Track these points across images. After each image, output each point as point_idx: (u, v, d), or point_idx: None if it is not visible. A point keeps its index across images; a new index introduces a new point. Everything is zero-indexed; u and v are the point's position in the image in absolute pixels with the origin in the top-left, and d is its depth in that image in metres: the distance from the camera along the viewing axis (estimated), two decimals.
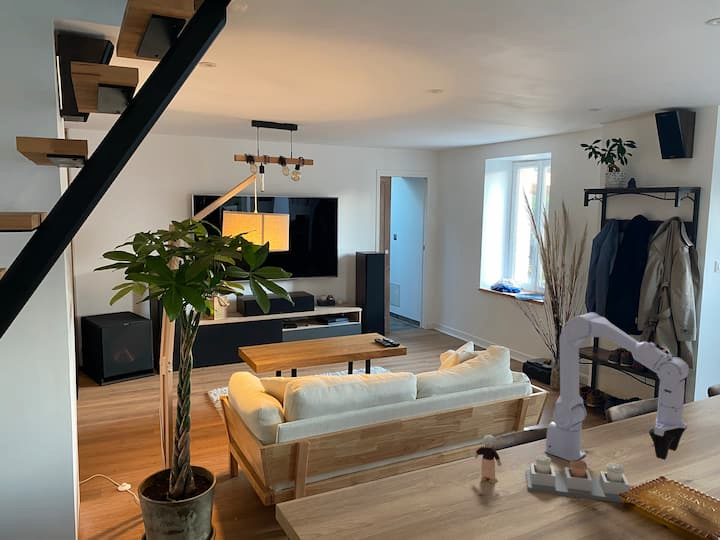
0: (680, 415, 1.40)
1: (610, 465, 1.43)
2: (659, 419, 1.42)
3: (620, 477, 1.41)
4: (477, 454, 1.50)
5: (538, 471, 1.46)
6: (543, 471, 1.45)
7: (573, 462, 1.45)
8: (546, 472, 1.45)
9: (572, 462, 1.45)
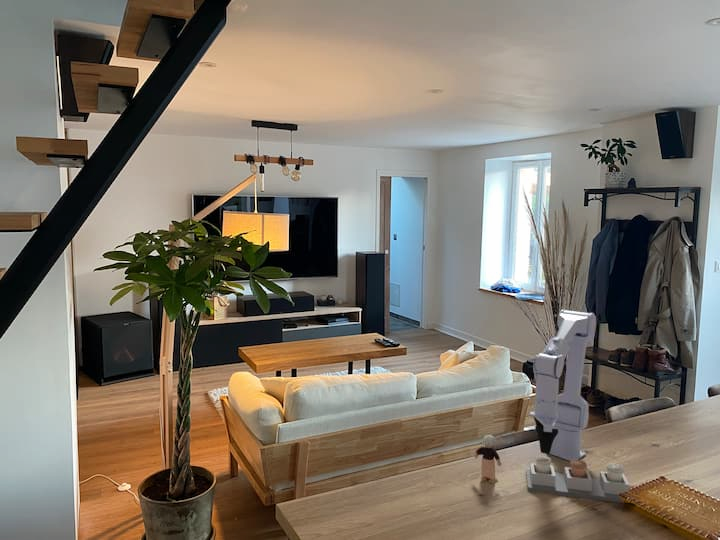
0: None
1: (610, 465, 1.43)
2: None
3: (620, 477, 1.41)
4: (477, 454, 1.50)
5: (538, 471, 1.46)
6: (543, 471, 1.45)
7: (573, 462, 1.45)
8: (546, 472, 1.45)
9: (572, 462, 1.45)
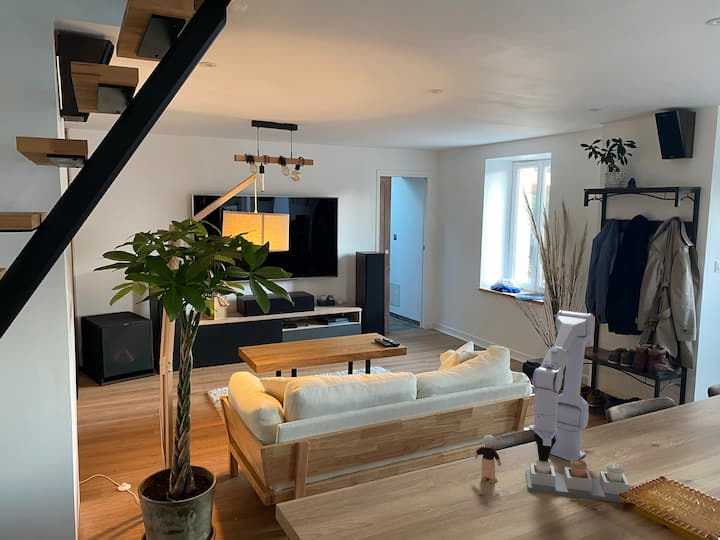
0: None
1: (610, 465, 1.43)
2: None
3: (620, 477, 1.41)
4: (477, 454, 1.50)
5: (538, 472, 1.46)
6: (543, 472, 1.45)
7: (573, 462, 1.45)
8: (546, 473, 1.45)
9: (572, 462, 1.45)
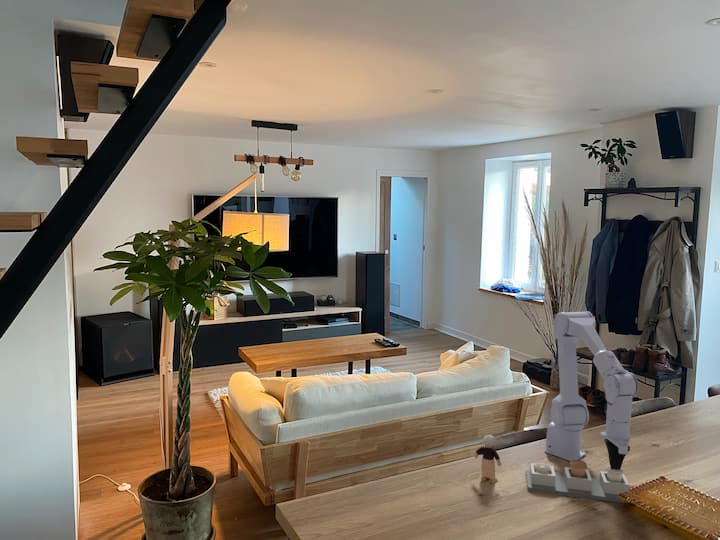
0: (606, 424, 1.42)
1: None
2: None
3: (620, 478, 1.41)
4: (477, 454, 1.50)
5: None
6: None
7: (573, 462, 1.45)
8: None
9: (572, 462, 1.45)
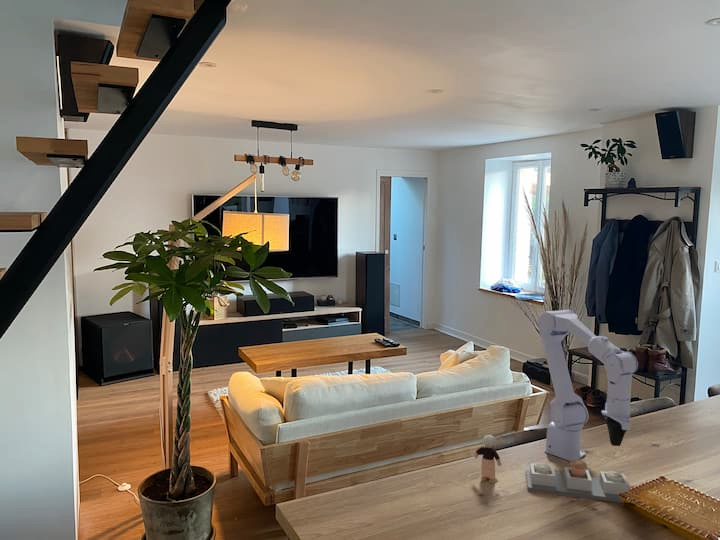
0: None
1: (609, 473, 1.43)
2: None
3: None
4: (477, 454, 1.50)
5: None
6: None
7: (573, 462, 1.45)
8: None
9: (572, 462, 1.45)
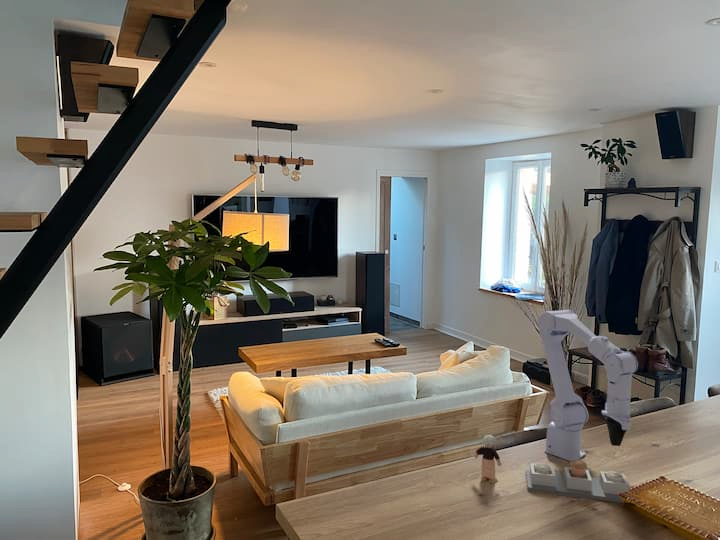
0: None
1: (609, 473, 1.43)
2: None
3: None
4: (477, 454, 1.50)
5: None
6: None
7: (573, 462, 1.45)
8: None
9: (572, 462, 1.45)
